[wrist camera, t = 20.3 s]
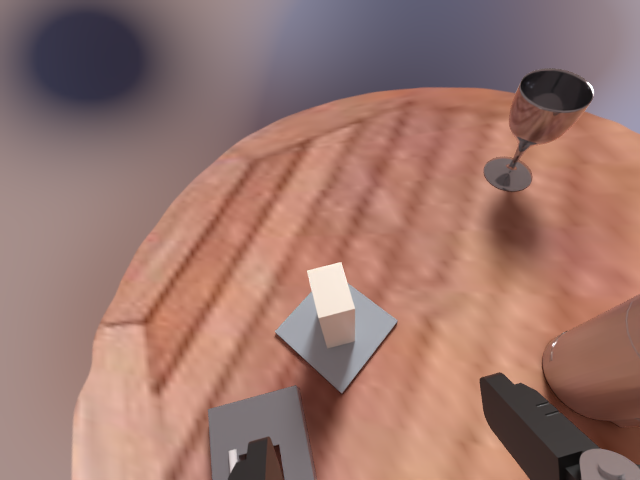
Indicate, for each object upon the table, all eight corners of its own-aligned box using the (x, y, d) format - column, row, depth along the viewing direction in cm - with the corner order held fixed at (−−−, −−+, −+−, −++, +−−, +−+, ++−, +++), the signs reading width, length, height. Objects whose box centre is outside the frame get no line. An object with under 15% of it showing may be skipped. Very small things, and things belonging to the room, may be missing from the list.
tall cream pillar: (354, 341, 42) (355, 308, 31) (327, 348, 41) (318, 318, 31) (344, 303, 44) (341, 262, 34) (318, 310, 44) (307, 270, 34)
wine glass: (543, 190, 51) (607, 106, 38) (490, 196, 51) (535, 114, 39) (523, 152, 55) (575, 64, 42) (474, 157, 56) (510, 72, 43)
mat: (397, 322, 43) (397, 320, 42) (341, 393, 39) (341, 393, 39) (331, 272, 47) (330, 270, 47) (275, 332, 44) (274, 331, 43)
